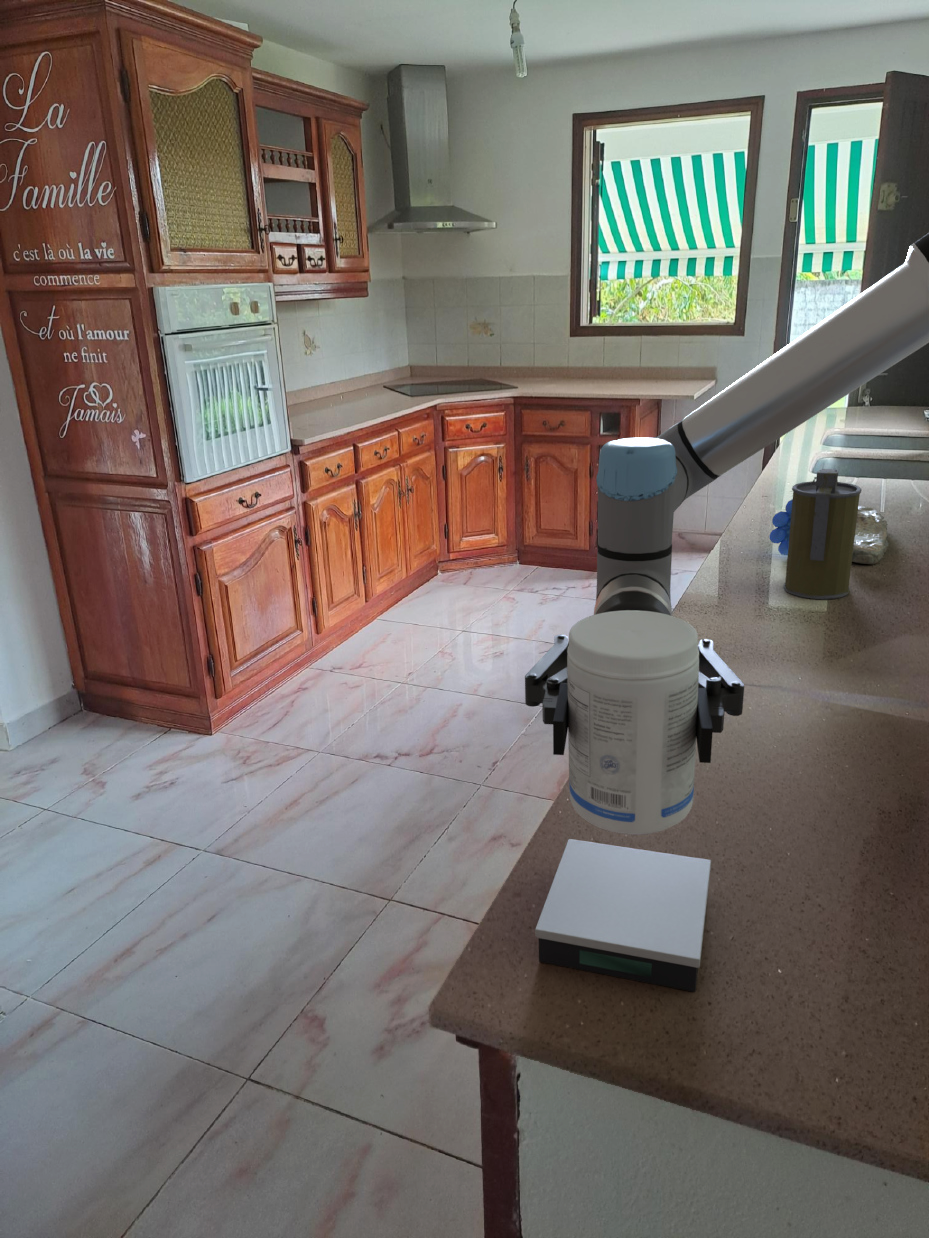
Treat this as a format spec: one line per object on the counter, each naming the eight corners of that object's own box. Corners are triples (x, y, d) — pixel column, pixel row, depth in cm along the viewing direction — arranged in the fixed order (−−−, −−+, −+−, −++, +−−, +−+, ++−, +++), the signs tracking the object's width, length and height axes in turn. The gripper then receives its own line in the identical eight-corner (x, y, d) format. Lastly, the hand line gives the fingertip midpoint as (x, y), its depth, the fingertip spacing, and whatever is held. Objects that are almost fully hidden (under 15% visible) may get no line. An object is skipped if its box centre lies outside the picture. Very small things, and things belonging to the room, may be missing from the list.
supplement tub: (662, 766, 74) (670, 602, 69) (714, 829, 65) (727, 647, 60) (552, 782, 72) (551, 615, 67) (590, 849, 64) (592, 663, 58)
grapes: (832, 552, 167) (839, 490, 163) (834, 562, 161) (841, 498, 157) (768, 549, 171) (773, 488, 167) (767, 559, 165) (772, 496, 161)
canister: (787, 577, 154) (797, 464, 147) (851, 583, 150) (865, 466, 143) (779, 596, 145) (789, 476, 138) (847, 603, 141) (861, 480, 134)
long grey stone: (830, 570, 161) (890, 577, 158) (835, 543, 159) (896, 549, 155) (831, 514, 190) (881, 519, 187) (835, 491, 188) (886, 495, 185)
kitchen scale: (709, 891, 76) (711, 859, 75) (697, 995, 65) (700, 959, 64) (568, 869, 80) (568, 838, 79) (535, 963, 69) (534, 929, 68)
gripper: (752, 667, 82) (791, 797, 61) (516, 659, 86) (478, 778, 65) (759, 591, 79) (801, 700, 59) (514, 587, 83) (474, 687, 63)
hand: (631, 741), depth 62 cm, fingers closed on supplement tub, 9 cm apart
